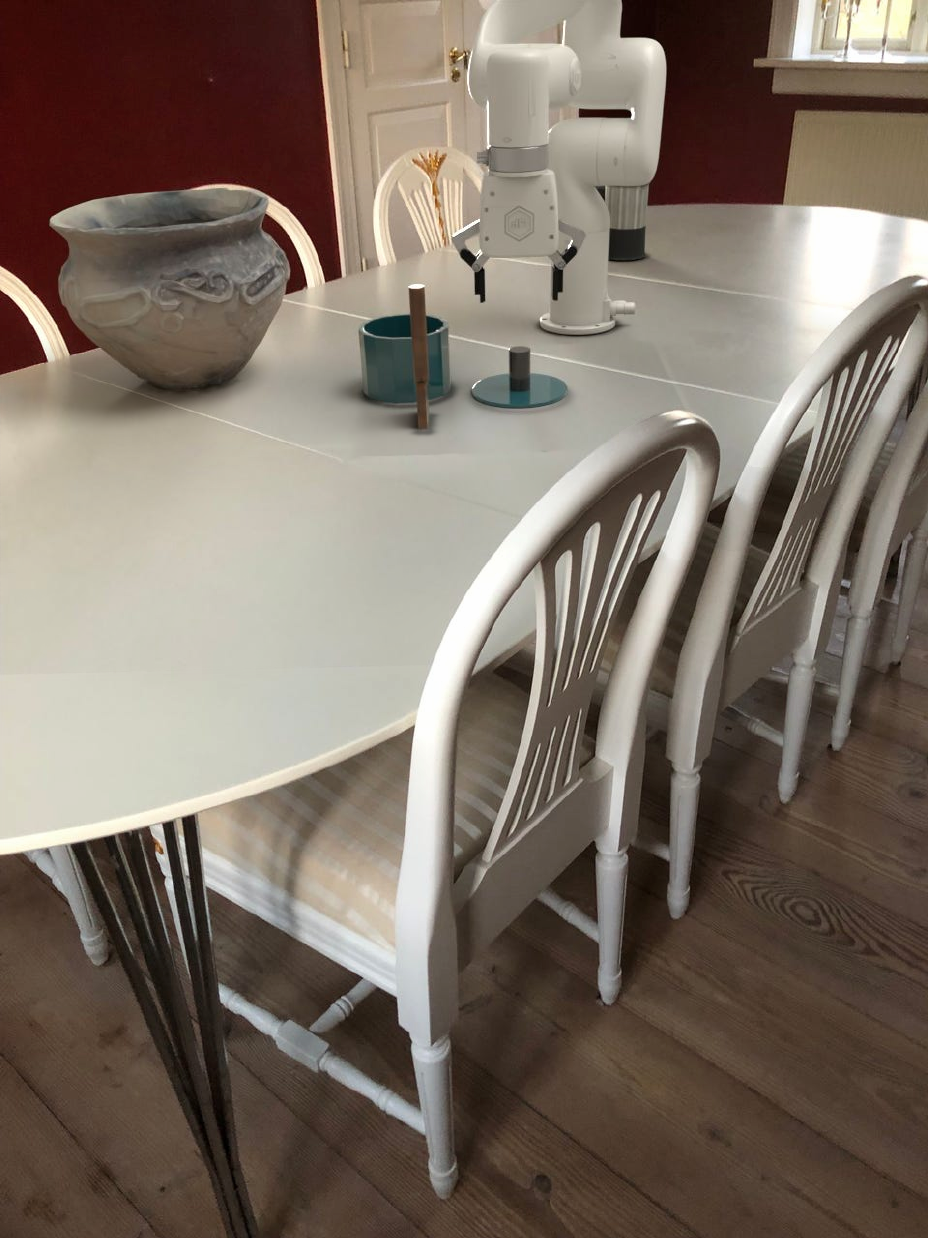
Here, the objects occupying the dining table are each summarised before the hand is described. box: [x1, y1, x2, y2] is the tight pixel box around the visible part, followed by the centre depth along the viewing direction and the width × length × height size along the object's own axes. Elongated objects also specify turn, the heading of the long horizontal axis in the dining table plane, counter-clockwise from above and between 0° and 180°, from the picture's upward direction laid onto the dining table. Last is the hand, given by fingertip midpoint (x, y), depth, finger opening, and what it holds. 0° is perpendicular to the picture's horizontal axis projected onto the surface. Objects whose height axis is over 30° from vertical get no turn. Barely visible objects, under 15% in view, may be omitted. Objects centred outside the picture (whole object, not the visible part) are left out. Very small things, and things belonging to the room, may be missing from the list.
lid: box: [471, 345, 569, 409], centre depth 144 cm, size 13×13×7 cm
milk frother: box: [595, 181, 651, 262], centre depth 211 cm, size 14×16×15 cm
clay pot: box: [49, 187, 291, 392], centre depth 151 cm, size 33×32×25 cm
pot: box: [358, 313, 452, 404], centre depth 146 cm, size 12×12×10 cm
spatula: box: [408, 283, 430, 430], centre depth 133 cm, size 2×6×18 cm, turn 179°
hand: (518, 299), depth 139 cm, fingers open, 9 cm apart
